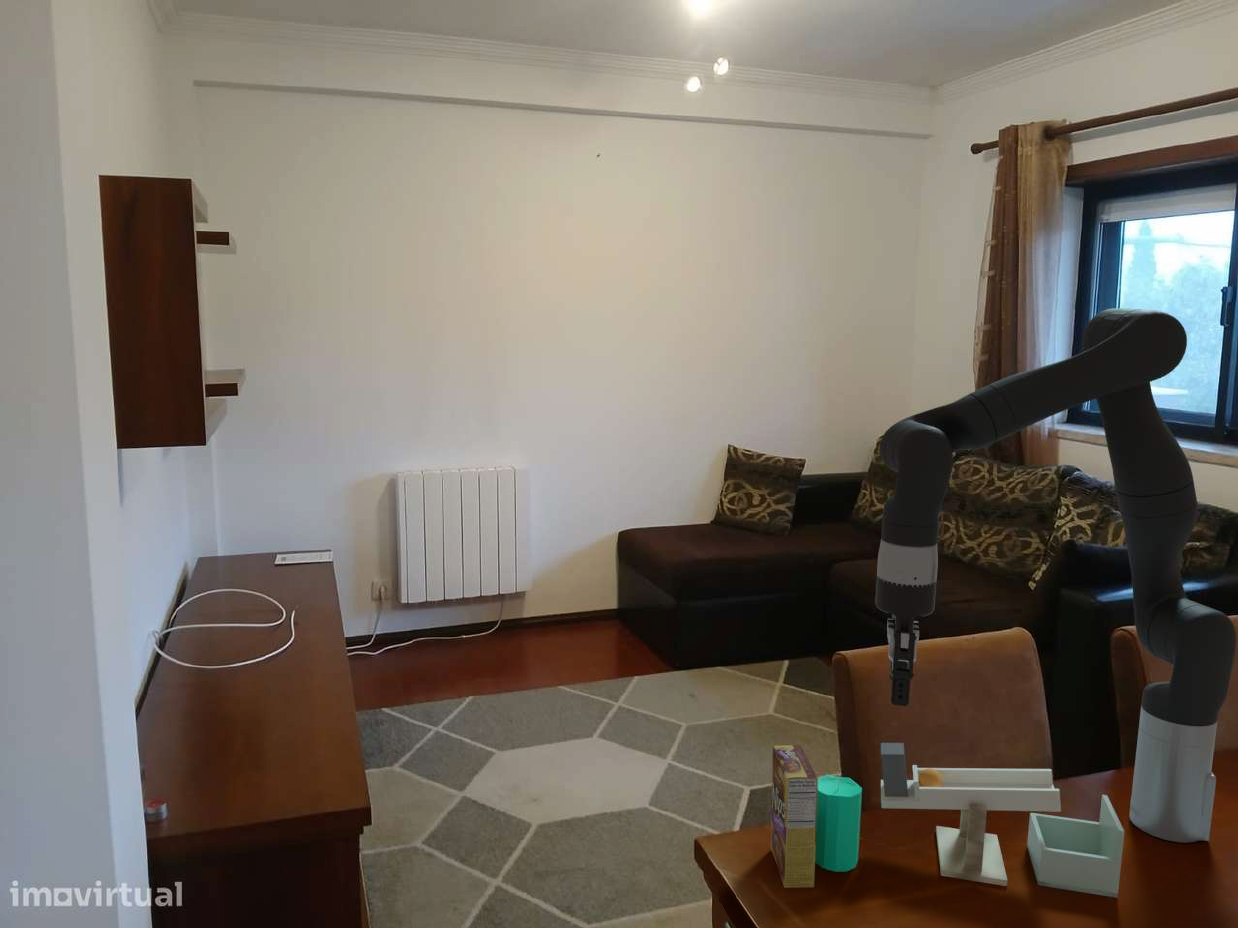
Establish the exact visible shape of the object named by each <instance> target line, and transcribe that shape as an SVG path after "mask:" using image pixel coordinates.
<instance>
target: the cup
mask: <svg viewBox="0 0 1238 928" xmlns="http://www.w3.org/2000/svg"><path fill="white" fill-rule="evenodd" d="M1100 802H1101V804H1100V812H1099V821H1098V822H1097V821H1093V820H1086V819H1078V818H1073V817H1072V818H1071V817H1065V816H1056V815H1049V814H1045V813H1044V814H1043V813H1042V814H1041V813H1037V812H1036V813H1035V812H1030V813H1029V821H1028V834H1027V841H1026V843H1027V844H1026V847H1027V850H1028V855H1029V858H1030V861H1031V866H1032V868H1033V872H1034V875H1035V878H1036V882H1037V886H1042V887H1048V888H1053V889H1060V890H1066V891H1072V892H1079V893H1086V894H1091V895H1092V894H1093V895H1098V896H1104V897H1110V898H1114V899H1118V897H1119V895H1118V894H1119V887H1120V878H1121V869H1122V867H1121V866H1122V861H1123V860H1122V858H1123V851H1124V849H1123V848H1124V841H1125V830H1124V828H1123V826H1122V824H1121V821H1120V819H1119V817H1118V815H1117V813H1116V810H1115V809H1114V807H1113V805H1112V802H1111V801H1110V798H1109V796H1108V795H1107V794H1101V801H1100Z"/></svg>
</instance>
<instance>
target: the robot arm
mask: <svg viewBox="0 0 1238 928" xmlns="http://www.w3.org/2000/svg"><path fill="white" fill-rule="evenodd" d="M1187 347H1188V335H1187V332H1186V329H1185V327H1184V326H1183V324H1182V323H1181V322H1180V320H1178V319H1177V318H1176V317H1175V316H1174V315H1171V314H1169V313H1167V312H1164V311H1159V310H1156V309H1146V308H1142V309H1141V308H1127V307H1125V308H1123V307H1121V308H1119V307H1118V308H1115V307H1114V308H1113V307H1112V308H1108V309H1104V310H1102V311H1099V312H1098V313H1097V314H1095V315H1094V316H1093V317H1092V318H1091V319H1090V320H1089V322H1088V323H1087V325H1086V327H1085V329H1084V332H1083V335H1082V339H1081V348H1082V349H1081V351H1082V352H1081V353H1078V354H1075V355H1073V356H1071V357H1068V358H1065V359H1063V360H1059V361H1057V362H1054V363H1051V364H1047V365H1044V366H1040V367H1037V368H1033V369H1029V370H1025V371H1022V372H1018V373H1014V374H1012V375H1009V376H1006V377H1004V378H1000V379H999V380H997V381H994V382H991V383H990V384H987V385H985V386H983V387H981V388H979V389H977V390H974V391H973V392H971V393H969V394H967V395H965V396H963V397H961V398H959V399H958V400H955V401H954V402H950V403H948V404H943V405H941V406H937V407H934V408H931V409H928V410H925V411H922V412H919V413H915V414H913V415H910V416H908V417H905V418H903V419H901V420H898V421H897V422H896V423H894V424H893V425H891V426H889V428H888V429H886V431H885V432H884V433H883V435H882V437H881V439H880V441H879V445H878V446H879V447H878V449H879V450H878V451H879V456H880V459H881V461H882V462H883V463H884V465H885V466H886V467H887V468H889V470H891V471H893V472H895V473H897V477H896V485H895V489H894V494H893V495H890V496H889V497H888V498H887V499H886V500H885V502H884V506H883V510H882V520H881V521H882V523H881V535H880V536H881V539H880V544H879V549H878V555H877V568H876V582H875V599H874V600H875V601H874V603H875V606H876V608H877V609H879V610H880V611H882V612H884V613H887V614H891V615H892V617H891V618H887V625H886V626H887V628H886V631H887V634H886V635H887V642H888V659H889V660H890V664H889V665H890V669H889V680H891V689H890V691H891V692H890V703H891V704H892V705H894V706H900V707H901V706H902V707H907V706H908V705H909V701H910V689H911V680H913V678H914V676H915V674H914V673H915V672H914V664H915V662H916V660H917V652H918V651H917V650H918V648H917V647H918V641H919V638H920V627H919V621H917V620H915V618H919V617H926V616H929V615H931V614H932V613H934V611H935V609H936V608H935V606H936V595H937V579H938V566H939V557H938V556H939V555H938V554H939V553H938V539H939V538H938V537H939V525H940V510H941V509H942V508H941V507H942V505H943V501H944V499H945V496H946V493H947V489H948V486H949V483H950V479H951V474H952V471H953V464H954V456H953V455H954V453H956V452H957V453H958V452H960V451H975V450H980V449H983V448H986V447H989V446H991V445H993V444H996V443H998V442H999V441H1001V440H1004V439H1005V438H1008V437H1010V436H1012V435H1014V434H1016V433H1018V432H1020V431H1022V430H1024V429H1026V428H1028V427H1031V426H1033V425H1034V424H1036V423H1039V422H1041V421H1043V420H1046V419H1047V418H1051V417H1052V416H1055V415H1057V414H1060V413H1061V412H1064V411H1066V410H1067V411H1068V410H1069V409H1071V408H1075V407H1077V406H1079V405H1082V404H1085V403H1088V402H1090V401H1093V400H1096V403H1097V405H1098V409H1099V413H1100V416H1101V417H1100V418H1101V421H1102V426H1103V429H1104V430H1103V431H1104V435H1105V441H1106V446H1107V450H1108V455H1109V460H1110V463H1111V470H1112V475H1113V483H1114V489H1115V494H1116V500H1117V504H1118V508H1119V514H1120V518H1121V521H1122V526H1123V531H1124V536H1125V537H1124V538H1125V542H1126V548H1127V553H1128V554H1127V555H1128V561H1129V568H1130V574H1131V586H1132V599H1133V602H1132V603H1133V612H1134V613H1133V616H1134V624H1135V631H1136V634H1137V635H1136V636H1137V638H1138V641H1139V643H1140V644H1141V646H1142V647H1143V648H1144V650H1145V651H1147V653H1150V654H1151V655H1152V656H1155V657H1156V658H1158V659H1161V660H1162V661H1165V662H1167V663H1169V664H1172V665H1173V667H1172V673H1171V677H1170V681H1157V682H1152V683H1149V684H1147V685H1146V686H1145V687H1144V689H1143V691H1142V695H1141V696H1142V697H1141V707H1140V714H1139V723H1138V724H1139V725H1138V732H1137V734H1138V735H1137V740H1136V741H1137V744H1136V751H1135V761H1134V771H1133V779H1132V787H1131V797H1130V804H1129V807H1130V809H1129V815H1128V816H1129V820H1130V821H1131V823H1132V824H1133V825H1134V826H1135V827H1136V828H1138V829H1139V830H1140V831H1142V832H1144V833H1146V834H1148V835H1151V836H1153V837H1155V838H1158V839H1162V840H1165V841H1169V842H1170V841H1171V842H1175V843H1176V842H1177V843H1185V844H1186V843H1194V842H1198V841H1205V842H1209V840H1210V833H1211V832H1210V831H1211V827H1212V826H1211V823H1212V816H1213V809H1214V800H1215V792H1216V784H1217V776H1216V775H1215V774H1214V773H1213V771H1212V767H1213V759H1214V752H1215V744H1216V734H1217V729H1218V728H1217V727H1218V718H1219V713H1220V710H1221V708H1222V707H1223V705H1224V703H1225V701H1226V699H1227V695H1228V692H1229V686H1230V682H1231V677H1232V671H1233V667H1234V666H1233V665H1234V660H1235V657H1236V650H1237V649H1236V648H1237V633H1236V628H1235V624H1234V622H1233V621H1232V620H1231V618H1230V617H1229V616H1228V615H1227V614H1225V613H1223V612H1222V611H1220V610H1217V609H1215V608H1211V607H1210V606H1207V605H1204V604H1201V603H1200V602H1199V603H1198V602H1196V601H1194V600H1190V599H1189V598H1188V596H1187V595H1186V592H1185V588H1184V584H1183V581H1182V579H1183V578H1182V574H1181V567H1180V566H1181V563H1180V562H1181V556H1182V553H1183V550H1184V549H1185V547H1186V545H1187V543H1188V541H1189V540H1190V537H1191V535H1192V533H1193V531H1194V528H1195V526H1196V523H1197V520H1198V516H1199V505H1198V499H1197V493H1196V486H1195V481H1194V476H1193V475H1194V474H1193V472H1192V468H1191V465H1190V462H1189V460H1188V458H1187V455H1185V452H1184V451H1183V448H1182V447H1181V445H1180V444H1179V442H1178V440H1177V439H1176V437H1175V435H1174V433H1173V432H1172V430H1171V429H1170V428H1169V427H1168V425H1167V423H1166V422H1165V420H1164V418H1163V417H1162V415H1161V413H1160V411H1159V410H1158V407H1157V405H1156V402H1155V400H1154V396H1153V391H1152V387H1151V382H1153V381H1156V380H1160V379H1162V378H1164V377H1166V376H1167V375H1169V374H1170V373H1171V372H1173V371H1175V369H1176V368H1177V367H1179V365H1180V363H1181V361H1182V360H1183V359H1184V356H1185V354H1186V352H1187V351H1186V350H1187Z"/></svg>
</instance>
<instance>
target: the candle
mask: <svg viewBox="0 0 1238 928" xmlns="http://www.w3.org/2000/svg"><path fill="white" fill-rule="evenodd" d="M862 793H863V787H861V786H860V785H859V784H858V783H857V782H855V781H854V780H853V779H851V778H850V777H843V776H841V774H838V776H834V775H829V774H825V775H824V776H822V777H820V778H819V777H818V789H817V820H816V850H815V865H816V864H817V865H818V866H819V865H820V866H819V867H821V868H823V869H824V868H825V869H824V870H828V871H832V872H835V873H837V872H848V871H851V870H853V869H855V868H856V867H857V864H858V862H859V847H860V831H861V830H860V829H861V816H862V815H861V814H862V813H861V812H862V795H863V794H862Z"/></svg>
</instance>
